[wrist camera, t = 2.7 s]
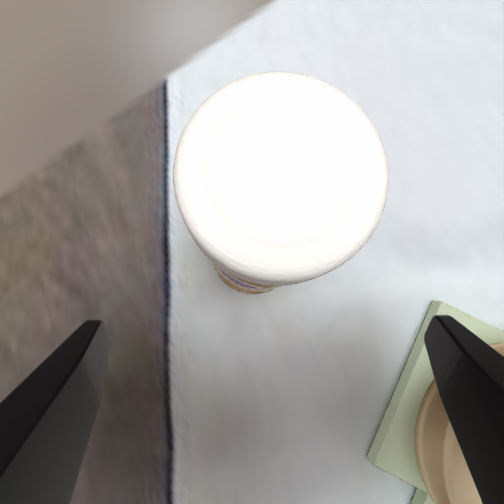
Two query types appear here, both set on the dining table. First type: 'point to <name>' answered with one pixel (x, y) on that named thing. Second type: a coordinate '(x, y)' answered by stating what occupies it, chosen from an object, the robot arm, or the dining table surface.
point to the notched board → (416, 404)
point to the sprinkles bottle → (279, 180)
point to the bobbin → (443, 452)
